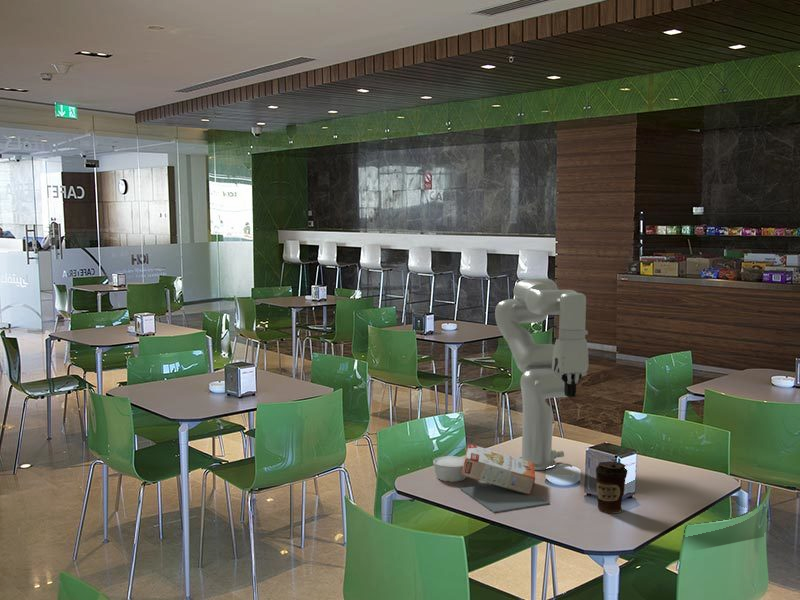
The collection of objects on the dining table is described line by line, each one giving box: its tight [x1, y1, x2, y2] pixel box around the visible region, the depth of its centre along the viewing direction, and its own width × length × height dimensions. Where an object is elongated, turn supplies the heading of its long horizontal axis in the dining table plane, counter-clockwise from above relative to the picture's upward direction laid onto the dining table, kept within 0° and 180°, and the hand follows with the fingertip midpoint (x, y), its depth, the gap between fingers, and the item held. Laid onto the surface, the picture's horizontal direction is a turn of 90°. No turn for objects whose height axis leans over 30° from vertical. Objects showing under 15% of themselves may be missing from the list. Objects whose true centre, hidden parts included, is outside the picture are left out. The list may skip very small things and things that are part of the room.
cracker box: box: [462, 443, 536, 495], centre depth 234 cm, size 14×6×21 cm
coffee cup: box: [595, 461, 628, 514], centre depth 216 cm, size 9×8×13 cm
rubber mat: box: [459, 483, 551, 514], centre depth 227 cm, size 18×20×1 cm
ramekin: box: [432, 455, 468, 483], centre depth 243 cm, size 11×11×5 cm
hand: (570, 396), depth 232 cm, fingers closed
